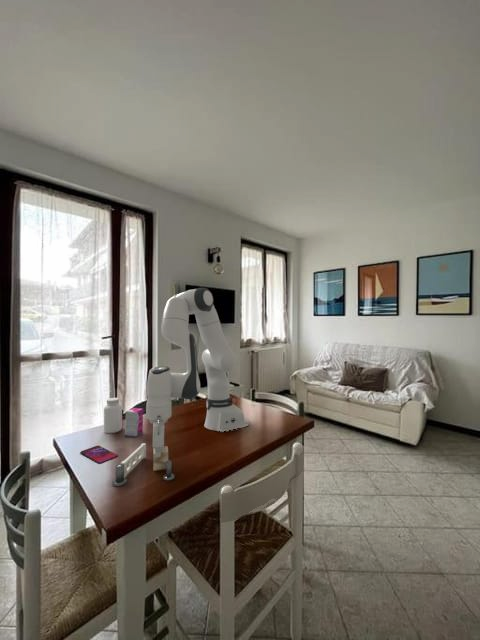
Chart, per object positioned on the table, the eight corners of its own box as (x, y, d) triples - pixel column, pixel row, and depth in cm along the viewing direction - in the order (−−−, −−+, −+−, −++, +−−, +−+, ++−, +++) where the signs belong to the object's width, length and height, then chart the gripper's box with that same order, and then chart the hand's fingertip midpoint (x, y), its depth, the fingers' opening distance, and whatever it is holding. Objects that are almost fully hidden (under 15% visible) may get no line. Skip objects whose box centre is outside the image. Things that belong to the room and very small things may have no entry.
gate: (124, 477, 93) (124, 463, 93) (120, 477, 93) (120, 463, 93) (145, 456, 108) (145, 443, 108) (142, 455, 108) (142, 443, 108)
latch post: (174, 474, 97) (174, 458, 97) (174, 479, 93) (174, 463, 93) (163, 475, 96) (163, 459, 96) (163, 481, 92) (163, 464, 92)
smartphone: (99, 463, 103) (79, 451, 112) (99, 465, 103) (79, 454, 112) (118, 455, 109) (98, 444, 118) (118, 457, 109) (98, 446, 118)
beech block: (167, 462, 105) (167, 445, 105) (168, 468, 100) (168, 451, 100) (153, 463, 104) (153, 447, 104) (153, 470, 99) (153, 453, 99)
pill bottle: (107, 427, 139) (107, 397, 139) (124, 427, 139) (124, 396, 139) (100, 433, 131) (101, 401, 131) (118, 433, 131) (118, 401, 131)
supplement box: (136, 437, 127) (136, 412, 127) (124, 436, 128) (124, 411, 128) (143, 432, 133) (143, 408, 133) (131, 431, 134) (132, 407, 134)
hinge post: (127, 477, 94) (127, 461, 94) (126, 485, 90) (126, 468, 90) (113, 480, 93) (113, 463, 93) (111, 487, 89) (111, 470, 89)
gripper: (168, 421, 93) (167, 463, 93) (167, 403, 113) (166, 438, 112) (148, 422, 91) (147, 465, 91) (150, 404, 111) (149, 440, 111)
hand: (157, 450), depth 102 cm, fingers open, 8 cm apart
